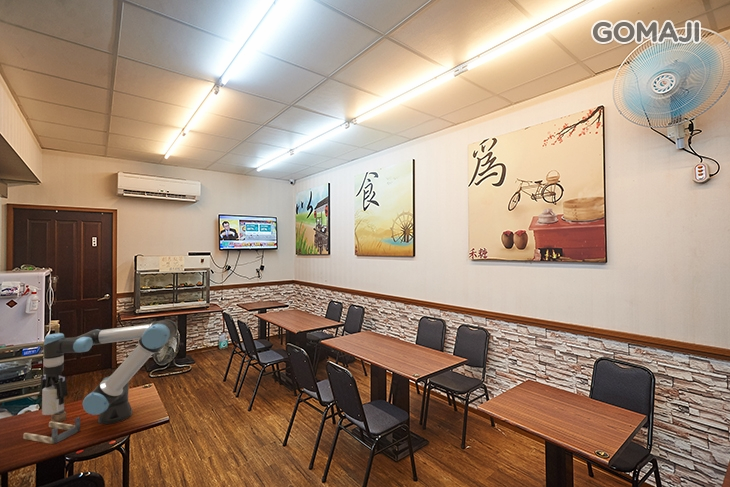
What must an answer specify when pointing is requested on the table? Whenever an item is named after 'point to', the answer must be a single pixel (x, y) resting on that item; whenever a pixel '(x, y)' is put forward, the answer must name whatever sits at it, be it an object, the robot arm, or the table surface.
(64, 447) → the table surface
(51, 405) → the cup
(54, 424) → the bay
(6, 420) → the table surface
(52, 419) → the grey-brown rounded block
